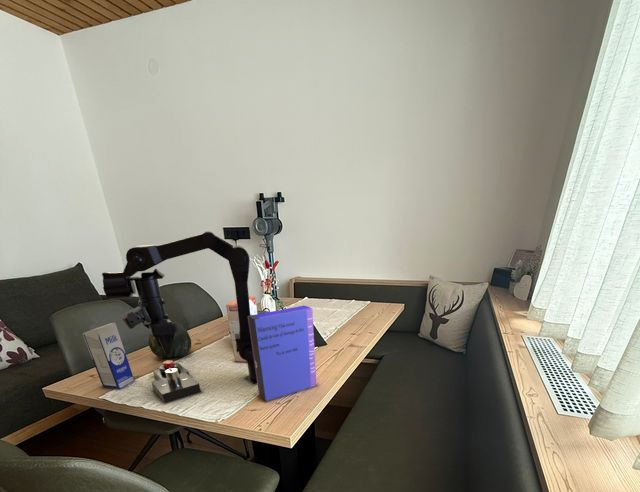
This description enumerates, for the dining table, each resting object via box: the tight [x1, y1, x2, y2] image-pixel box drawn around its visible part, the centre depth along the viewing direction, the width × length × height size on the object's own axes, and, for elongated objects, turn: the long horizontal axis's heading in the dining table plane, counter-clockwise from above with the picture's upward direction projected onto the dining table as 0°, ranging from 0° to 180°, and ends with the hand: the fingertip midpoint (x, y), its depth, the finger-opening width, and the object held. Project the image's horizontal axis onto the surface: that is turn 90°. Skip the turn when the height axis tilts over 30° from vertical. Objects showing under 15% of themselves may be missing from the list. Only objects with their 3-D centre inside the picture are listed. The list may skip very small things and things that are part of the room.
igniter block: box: [152, 362, 190, 380], centre depth 121 cm, size 10×9×4 cm
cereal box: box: [248, 305, 318, 402], centre depth 103 cm, size 17×5×24 cm, turn 124°
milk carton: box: [81, 322, 135, 390], centre depth 113 cm, size 7×7×20 cm
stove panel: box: [150, 372, 202, 404], centre depth 111 cm, size 12×11×3 cm
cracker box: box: [225, 295, 258, 363], centre depth 132 cm, size 14×6×21 cm, turn 168°
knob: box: [165, 368, 181, 385], centre depth 109 cm, size 4×4×4 cm
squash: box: [148, 319, 192, 359], centre depth 137 cm, size 14×15×15 cm
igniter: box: [162, 360, 175, 368], centre depth 120 cm, size 3×3×2 cm
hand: (164, 350), depth 106 cm, fingers open, 9 cm apart
